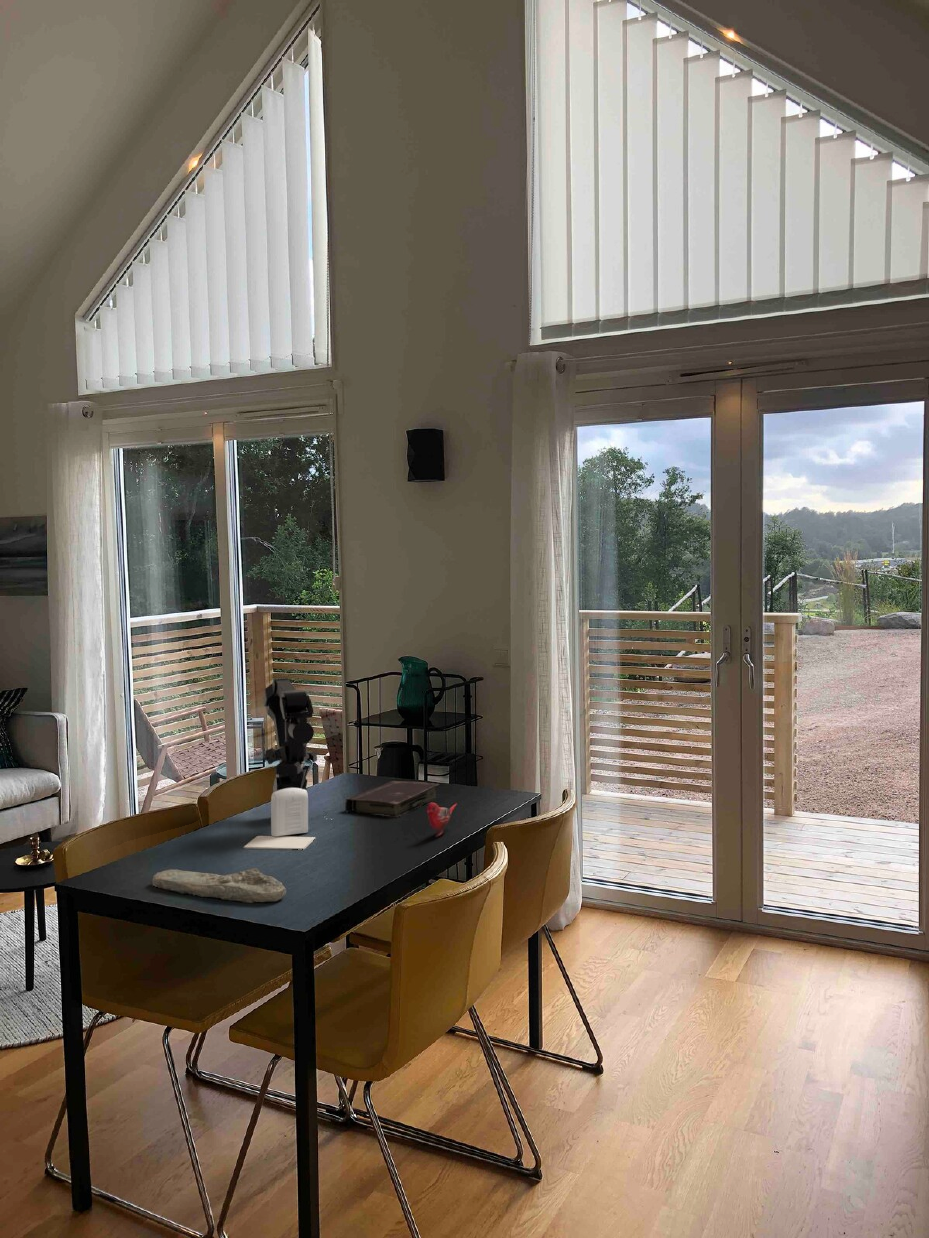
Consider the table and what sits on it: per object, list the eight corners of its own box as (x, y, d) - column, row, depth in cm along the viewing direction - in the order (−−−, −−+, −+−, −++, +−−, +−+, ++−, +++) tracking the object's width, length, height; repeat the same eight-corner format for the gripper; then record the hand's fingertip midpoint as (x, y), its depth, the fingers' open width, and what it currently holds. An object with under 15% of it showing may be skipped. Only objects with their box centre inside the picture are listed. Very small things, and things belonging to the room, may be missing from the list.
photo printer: (304, 830, 275) (303, 784, 275) (310, 832, 272) (310, 787, 271) (268, 835, 269) (268, 789, 269) (275, 838, 266) (274, 791, 266)
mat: (257, 837, 269) (257, 835, 269) (315, 838, 266) (315, 837, 266) (243, 848, 259) (243, 846, 259) (303, 849, 256) (303, 848, 256)
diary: (344, 814, 294) (344, 797, 294) (390, 795, 316) (390, 779, 316) (398, 819, 285) (398, 802, 285) (442, 800, 307) (441, 783, 307)
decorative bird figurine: (423, 841, 261) (422, 803, 261) (452, 824, 277) (452, 788, 277) (433, 843, 260) (432, 804, 259) (462, 825, 276) (461, 789, 275)
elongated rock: (171, 882, 237) (142, 898, 228) (168, 861, 237) (139, 876, 228) (297, 891, 223) (271, 909, 214) (294, 868, 223) (268, 885, 214)
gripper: (279, 730, 287) (280, 784, 288) (255, 743, 268) (257, 801, 269) (316, 731, 285) (318, 785, 286) (295, 744, 267) (297, 801, 268)
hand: (297, 793), depth 277 cm, fingers closed
